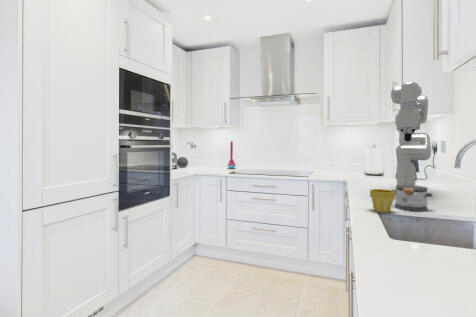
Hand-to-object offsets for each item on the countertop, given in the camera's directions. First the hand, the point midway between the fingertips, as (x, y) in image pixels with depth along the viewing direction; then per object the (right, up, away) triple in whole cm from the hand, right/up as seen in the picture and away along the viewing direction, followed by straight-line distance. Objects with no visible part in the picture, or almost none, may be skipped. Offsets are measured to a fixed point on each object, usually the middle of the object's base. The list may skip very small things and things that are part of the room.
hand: (407, 141), depth 142 cm
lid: (-5, -24, -11) cm, 27 cm away
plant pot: (-22, -34, -16) cm, 44 cm away
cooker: (-5, -34, -10) cm, 35 cm away
